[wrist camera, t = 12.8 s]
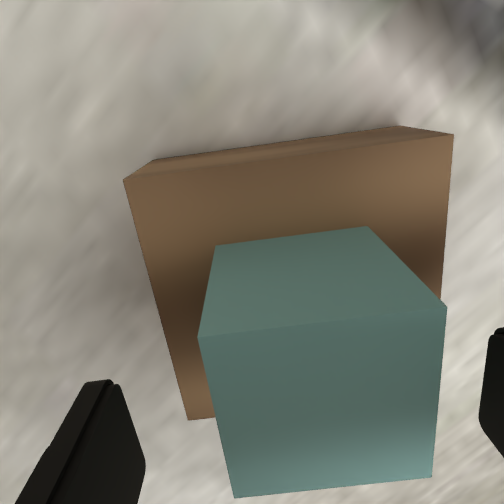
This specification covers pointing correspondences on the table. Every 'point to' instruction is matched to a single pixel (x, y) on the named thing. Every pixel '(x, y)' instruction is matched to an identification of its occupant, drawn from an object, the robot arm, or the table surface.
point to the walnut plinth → (283, 216)
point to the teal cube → (321, 362)
